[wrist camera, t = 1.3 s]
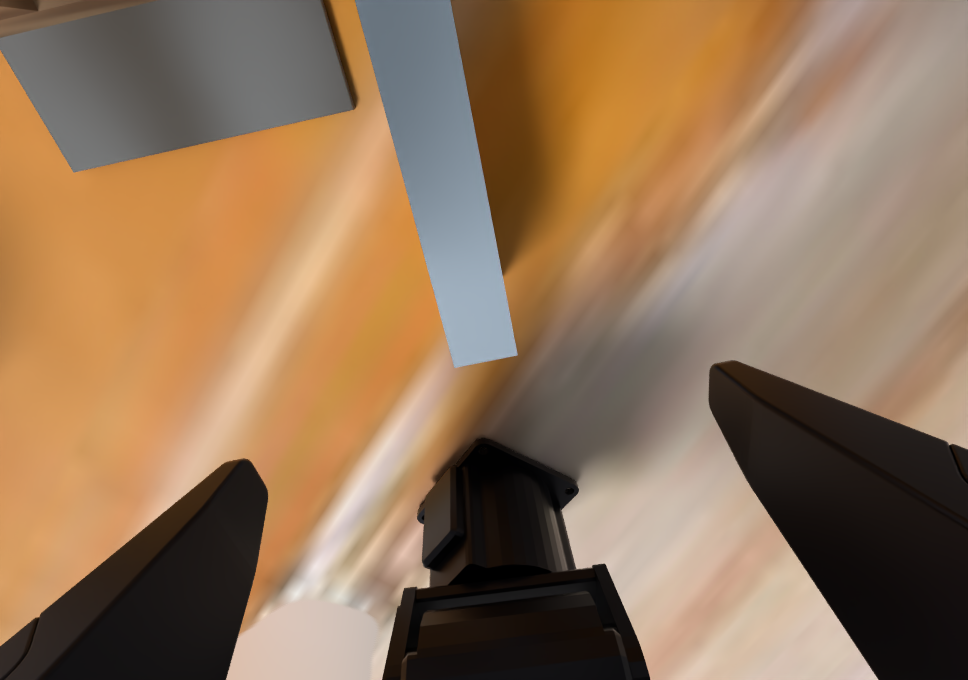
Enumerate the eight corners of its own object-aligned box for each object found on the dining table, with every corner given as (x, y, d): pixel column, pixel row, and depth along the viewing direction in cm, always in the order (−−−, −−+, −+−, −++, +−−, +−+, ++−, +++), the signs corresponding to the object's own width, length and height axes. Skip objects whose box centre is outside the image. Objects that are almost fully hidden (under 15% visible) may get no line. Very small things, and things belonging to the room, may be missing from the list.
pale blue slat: (362, -74, 14) (314, -151, 9) (428, -90, 14) (416, -176, 9) (453, 290, 20) (454, 367, 15) (500, 280, 20) (517, 355, 15)
